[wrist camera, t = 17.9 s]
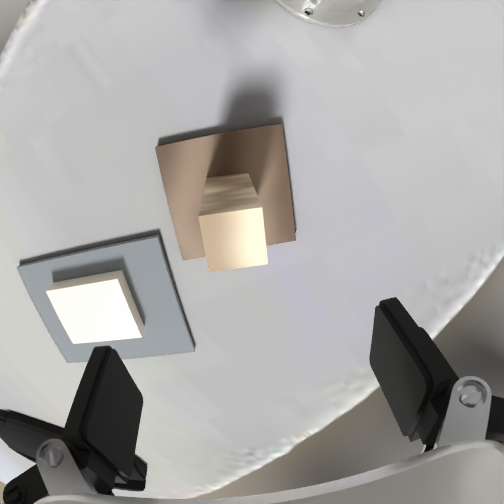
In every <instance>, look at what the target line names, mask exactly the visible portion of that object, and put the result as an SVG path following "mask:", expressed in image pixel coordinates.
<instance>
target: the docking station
mask: <svg viewBox="0 0 504 504" xmlns="http://www.w3.org/2000/svg"><path fill="white" fill-rule="evenodd" d="M63 431H64V429H63V428H60V427H57V426H54V425H51V424H48V423H45V422H43V421H40V420H37V419H34V418H31V417H28V416H25V415H22V414H19V413H16V412H12V411H11V412H10V413H8V412H5V411H0V438H1V439H2V440H3V441H4V442H5V443H6V444H7V445H8V447H10V448H11V449H12V450H14V451H15V452H17V453H19V454H20V455H22V456H24V457H25V458H27V459H29V460H31V461H33V462H35V463H36V453H37V450H38V448H39V447H40V445H41V444H42V443H44V442H45V441H47V440H49V439H55V438H56V439H60V440H61V439H62V436H63V435H62V434H63ZM146 475H147V466H146V465H145V464H144V463H142V462H141V461H140V460H139V459H138V458H137V457H136V456H135V455H134V462H133V469H132V475H131V476H130V477H128V481H127V484H125V483H115V485H114V489H120V490H128V491H144V489H145V483H146V480H145V477H146Z"/></svg>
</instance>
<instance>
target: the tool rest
mask: <svg viewBox="0 0 504 504" xmlns="http://www.w3.org/2000/svg"><path fill="white" fill-rule="evenodd" d="M155 149H156V154H157V159H158V163H159V168H160V172H161V176H162V181H163V185H164V189H165V193H166V198H167V202H168V206H169V210H170V214H171V218H172V222H173V226H174V230H175V234H176V237H177V241H178V245H179V249H180V252H181V256H182V260H188V259H194V258H199V257H205V256H206V255H205V250H204V244H203V239H202V234H201V228H200V223H199V217H198V215H199V210H200V206H201V201H202V196H203V191H204V186H205V182H206V178H212V177H219V176H226V175H234V174H241V173H249V176H250V178H251V181H252V183H253V186H254V188H255V191H256V193H257V196H258V198H259V201H260V203H261V206H262V210H263V220H264V230H265V240H266V246H267V245H273V244H278V243H284V242H290V241H295V240H296V236H295V226H294V217H293V208H292V199H291V190H290V182H289V174H288V166H287V158H286V150H285V142H284V135H283V128H282V124H275V125H268V126H260V127H254V128H247V129H241V130H235V131H229V132H223V133H218V134H212V135H207V136H202V137H197V138H192V139H187V140H182V141H178V142H173V143H169V144H165V145H160V146H157V147H155Z"/></svg>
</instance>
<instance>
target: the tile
mask: <svg viewBox="0 0 504 504" xmlns="http://www.w3.org/2000/svg"><path fill="white" fill-rule="evenodd" d="M46 293H47V295H48V297H49V299H50V301H51V303H52V305H53V307H54V309H55V311H56V313H57V315H58V317H59V319H60V321H61V323H62V325H63V326H64V328H65V330H66V332H67V334H68V336H69V337H70V339H71V341H72V343H73V344H78V343H90V342H101V341H111V340H121V339H131V338H139V337H142V335H143V331H144V327H145V326H144V324H143V321H142V319H141V317H140V314H139V312H138V309H137V307H136V304H135V302H134V299H133V297H132V294H131V292H130V289H129V287H128V284H127V281H126V279H125V276H124V273H123V270H118V271H113V272H107V273H102V274H96V275H91V276H85V277H80V278H74V279H69V280H64V281H58V282H53V283H52V284H51V285H50V286H49V288H48V289H47V290H46Z"/></svg>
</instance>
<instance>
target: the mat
mask: <svg viewBox="0 0 504 504" xmlns="http://www.w3.org/2000/svg"><path fill="white" fill-rule="evenodd" d="M17 269H18V272H19V274H20V276H21V278H22V281H23V283H24V285H25V287H26V289H27V291H28V293H29V295H30V298H31V300H32V302H33V304H34V306H35V307H36V309H37V311H38V313H39V315H40V317H41V319H42V321H43V323H44V324H45V326H46V328H47V330H48V332H49V333H50V335H51V337H52V339H53V340H54V342H55V344H56V345H57V347H58V349H59V350H60V352H61V354H62V355H63V357H64V359H65V360H66V362H67V363H71V362H88V361H89V358H90V356H91V353H92V351H93V349H94V347H96V346H107V345H108V346H111V347H112V349H115V350H116V351H117V353H118V354H119V356H120V358H121V359H132V358H143V357H153V356H163V355H171V354H180V353H188V352H195V346H194V343H193V340H192V338H191V335H190V332H189V329H188V326H187V323H186V320H185V317H184V314H183V311H182V308H181V305H180V302H179V299H178V296H177V293H176V290H175V287H174V284H173V280H172V277H171V274H170V271H169V267H168V264H167V261H166V257H165V254H164V250H163V247H162V244H161V240H160V236H159V234H158V235H153V236H148V237H143V238H138V239H133V240H128V241H123V242H119V243H114V244H109V245H104V246H100V247H95V248H91V249H86V250H82V251H77V252H73V253H68V254H64V255H59V256H55V257H51V258H46V259H42V260H38V261H34V262H29V263H25V264H21V265H19V266H18V267H17ZM118 270H123V273H124V276H125V279H126V281H127V284H128V287H129V289H130V292H131V294H132V297H133V299H134V302H135V304H136V307H137V309H138V312H139V314H140V317H141V319H142V321H143V324H144V326H145V327H144V331H143V335H142V337H139V338H131V339H121V340H111V341H101V342H90V343H78V344H73V343H72V341H71V339H70V337H69V336H68V334H67V332H66V330H65V328H64V326H63V325H62V323H61V321H60V319H59V317H58V315H57V313H56V311H55V309H54V307H53V305H52V303H51V301H50V299H49V297H48V295H47V293H46V290H47V289H48V288H49V286H50V285H51V284H52V283H53V282H58V281H64V280H69V279H74V278H80V277H85V276H91V275H96V274H102V273H107V272H113V271H118Z"/></svg>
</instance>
